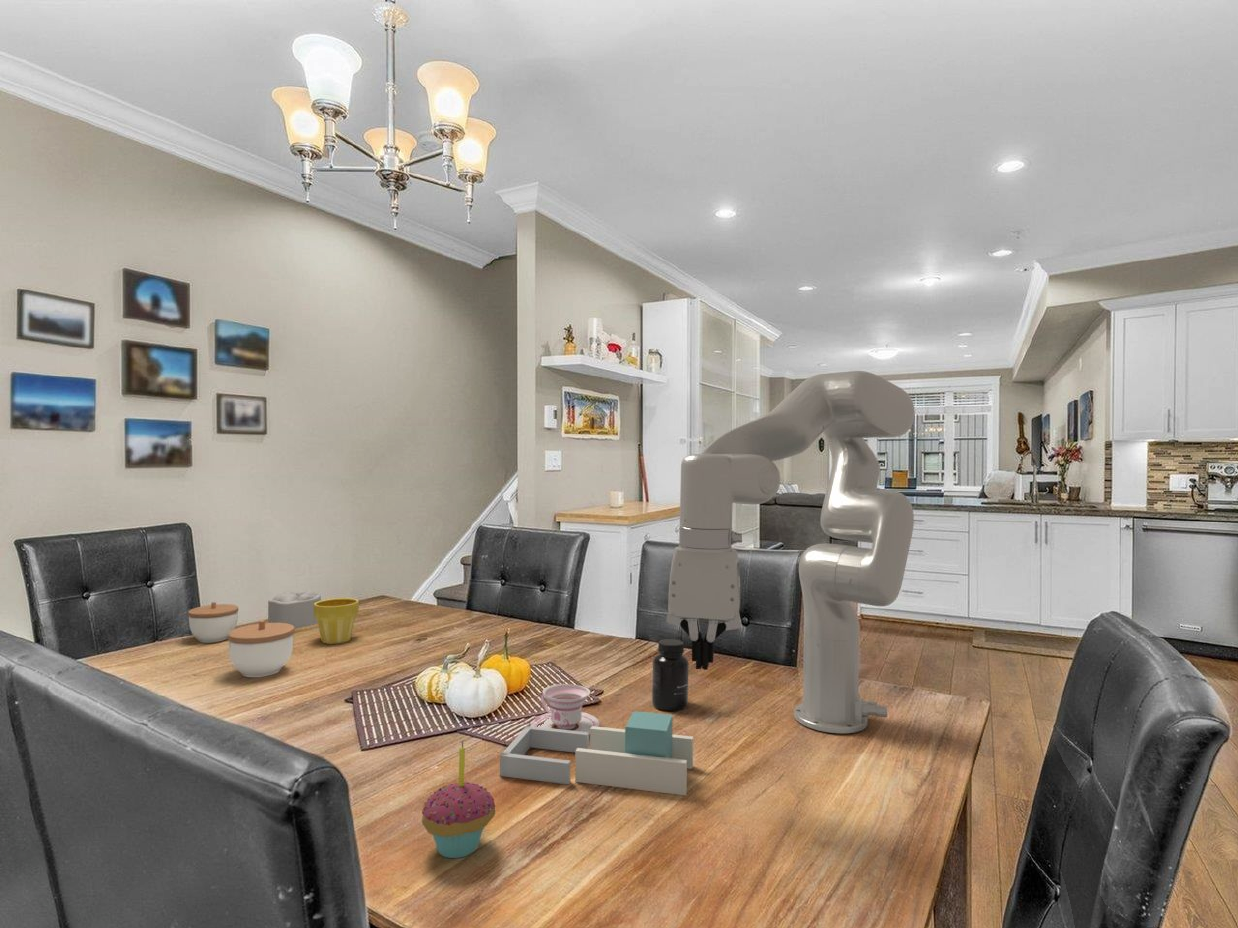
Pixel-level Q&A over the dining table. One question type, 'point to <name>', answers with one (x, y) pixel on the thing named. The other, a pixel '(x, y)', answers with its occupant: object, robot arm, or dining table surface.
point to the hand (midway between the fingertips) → (702, 666)
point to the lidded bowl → (261, 648)
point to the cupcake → (458, 815)
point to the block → (649, 734)
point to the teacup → (566, 708)
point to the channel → (633, 764)
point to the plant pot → (336, 619)
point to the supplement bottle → (670, 676)
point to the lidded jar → (213, 622)
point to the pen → (540, 767)
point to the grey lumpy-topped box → (293, 608)
